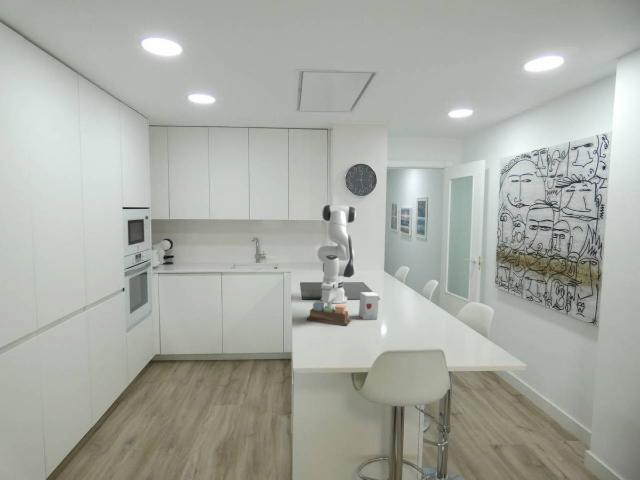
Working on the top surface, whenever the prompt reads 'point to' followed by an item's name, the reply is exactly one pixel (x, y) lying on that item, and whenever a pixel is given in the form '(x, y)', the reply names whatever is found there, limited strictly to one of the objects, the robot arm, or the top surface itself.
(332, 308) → the sage block
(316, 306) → the blue block
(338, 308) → the terracotta block
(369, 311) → the supplement box
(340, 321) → the divided box
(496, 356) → the top surface
